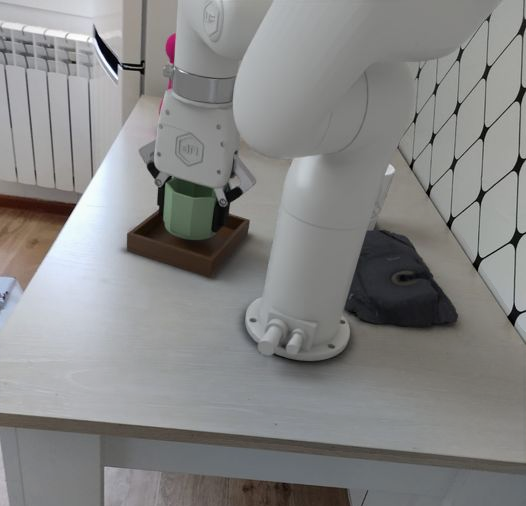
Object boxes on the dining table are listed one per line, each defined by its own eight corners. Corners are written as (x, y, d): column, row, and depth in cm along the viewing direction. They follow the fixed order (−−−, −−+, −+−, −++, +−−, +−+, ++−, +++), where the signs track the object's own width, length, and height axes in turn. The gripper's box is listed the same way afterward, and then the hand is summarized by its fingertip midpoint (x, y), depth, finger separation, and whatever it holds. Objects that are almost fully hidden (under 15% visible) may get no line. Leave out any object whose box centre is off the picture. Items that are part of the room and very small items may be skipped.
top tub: (204, 245, 78) (208, 203, 75) (155, 229, 80) (157, 188, 76) (224, 225, 84) (229, 185, 80) (178, 210, 85) (181, 171, 81)
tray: (210, 277, 76) (212, 260, 75) (126, 250, 79) (126, 233, 77) (247, 235, 88) (250, 219, 86) (173, 212, 90) (174, 196, 88)
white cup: (376, 239, 93) (394, 179, 87) (328, 227, 94) (342, 167, 88) (378, 219, 100) (395, 162, 94) (333, 208, 100) (347, 151, 94)
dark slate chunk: (415, 249, 93) (425, 222, 90) (461, 332, 76) (475, 302, 73) (321, 238, 91) (328, 210, 88) (346, 322, 73) (356, 290, 70)
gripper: (123, 73, 69) (121, 212, 80) (261, 111, 66) (240, 250, 77) (153, 62, 75) (147, 193, 85) (281, 97, 72) (259, 228, 83)
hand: (191, 219), depth 81 cm, fingers closed on top tub, 7 cm apart
